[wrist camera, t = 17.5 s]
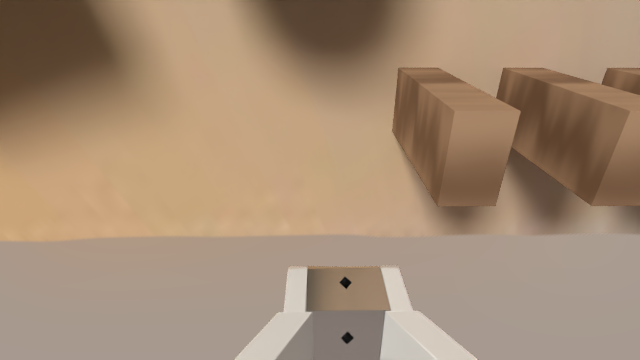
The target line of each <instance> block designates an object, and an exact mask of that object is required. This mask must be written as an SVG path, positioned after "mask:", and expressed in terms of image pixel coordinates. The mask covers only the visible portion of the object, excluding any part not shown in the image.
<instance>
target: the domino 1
mask: <svg viewBox="0 0 640 360" xmlns="http://www.w3.org/2000/svg"><path fill="white" fill-rule="evenodd" d="M520 113H521V111H520V110H518V109H516V108H514V107H512V106H510V105H508V104H506V103H504V102H502V101H500V100H498V99H497V98H495V97H493V96H491V95H489V94H487V93H485V92H483V91H481V90H479V89H477V88H476V87H474V86H472V85H470V84H468V83H466V82H464V81H462V80H460V79H458V78H456V77H454V76H453V75H451V74H449V73H447V72H445V71H443V70H441V69H439V68H399V69H398V79H397V89H396V99H395V109H394V119H393V129H392V131H393V133H394V134H395V136H396V138H397V139H398V141H399V143H400V144H401V146H402V148H403V149H404V151H405V153H406V154H407V156H408V158H409V159H410V161H411V163H412V164H413V166H414V168H415V169H416V171H417V173H418V174H419V176H420V178H421V179H422V181H423V183H424V184H425V186H426V188H427V189H428V191H429V193H430V194H431V196H432V198H433V199H434V201H435V203H436V204H437V206H496V202H497V198H498V195H499V191H500V187H501V183H502V180H503V176H504V172H505V169H506V165H507V161H508V157H509V154H510V150H511V146H512V142H513V139H514V135H515V131H516V128H517V124H518V120H519V116H520Z"/></svg>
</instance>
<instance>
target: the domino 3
mask: <svg viewBox="0 0 640 360" xmlns="http://www.w3.org/2000/svg"><path fill="white" fill-rule="evenodd" d="M602 85H605V86H608V87H612V88H616V89H619V90H623V91H626V92H630V93H633V94H637V95H640V68H607V71H606V74H605V76H604V79H603V82H602Z"/></svg>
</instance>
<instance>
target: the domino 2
mask: <svg viewBox="0 0 640 360" xmlns="http://www.w3.org/2000/svg"><path fill="white" fill-rule="evenodd" d="M497 99H498V100H500V101H502V102H504V103H506V104H508V105H510V106H512V107H514V108H516V109H518V110H520V111H521V113H520V116H519V120H518V124H517V128H516V131H515V135H514V139H513V142H512V146H511V147H512V148H513V149H514V150H516V151H517V152H519V153H520V154H521V155H523V156H524V157H525V158H527V159H528V160H530V161H531V162H532V163H534V164H535V165H536V166H538V167H539V168H540V169H542V170H543V171H545V172H546V173H547V174H549V175H550V176H551V177H553V178H554V179H555V180H557V181H558V182H560V183H561V184H562V185H564V186H565V187H566V188H568V189H569V190H571V191H572V192H573V193H575V194H576V195H577V196H579V197H580V198H581V199H583V200H584V201H586V202H587V203H588V204H590V205H591V206H640V95H637V94H633V93H630V92H626V91H623V90H619V89H616V88H612V87H608V86H605V85H601V84H598V83H594V82H591V81H587V80H584V79H580V78H576V77H573V76H569V75H566V74H562V73H559V72H555V71H551V70H548V69H544V68H503V72H502V76H501V80H500V85H499V89H498V93H497Z"/></svg>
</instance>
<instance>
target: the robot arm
mask: <svg viewBox="0 0 640 360" xmlns="http://www.w3.org/2000/svg"><path fill="white" fill-rule="evenodd" d="M234 360H478V359H477V358H476V357H474V356H473V355H472V354H471V353H469V352H468V351H467V350H466V349H465V348H464V347H462V346H461V345H460V344H459V343H458V342H456V341H455V340H454V339H453V338H452V337H450V336H449V335H448V334H447V333H445V332H444V331H443V330H442V329H441V328H440V327H438V326H437V325H436V324H435V323H434V322H432V321H431V320H430V319H429V318H428V317H426V316H425V315H424V314H422V312H420V311H414V310H413V307H412V304H411V301H410V299H409V295H408V292H407V289H406V286H405V283H404V281H403V277H402V274H401V271H400V269H399V267H398V266H397V265H391V266H379V267H378V266H369V267H365V266H364V267H323V266H322V267H321V266H308V268H307V267H300V266H298V267H297V266H296V267H295V266H290V267H289V269H288V275H287V285H286V294H285V304H284V312H278V313H277V314H276V315H275V316H274V317H273V318H272V319H271V321H269V323H268V324H267V325H266V326H265V327H264V328H263V329H262V330H261V331H260V332H259V333H258V334H257V335H256V336H255V338H254V339H253V340H252V341H251V342H250V343H249V344H248V345H247V346H246V347H245V348H244V349H243V350H242V352H241V353H240V354H239V355H238V356H237V357H236V358H235V359H234Z"/></svg>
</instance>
